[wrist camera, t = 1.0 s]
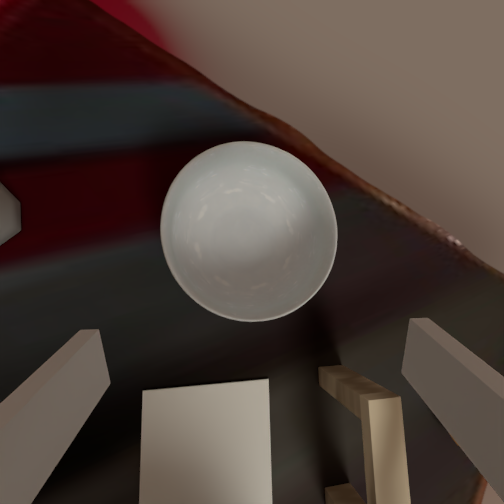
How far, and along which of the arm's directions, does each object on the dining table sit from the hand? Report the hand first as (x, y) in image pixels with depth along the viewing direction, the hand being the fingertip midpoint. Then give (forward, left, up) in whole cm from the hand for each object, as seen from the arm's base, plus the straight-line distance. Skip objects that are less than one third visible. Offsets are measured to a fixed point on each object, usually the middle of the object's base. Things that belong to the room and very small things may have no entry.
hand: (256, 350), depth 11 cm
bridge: (-14, -12, -18) cm, 26 cm away
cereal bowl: (+8, -3, -18) cm, 20 cm away
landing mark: (-14, +1, -18) cm, 23 cm away
